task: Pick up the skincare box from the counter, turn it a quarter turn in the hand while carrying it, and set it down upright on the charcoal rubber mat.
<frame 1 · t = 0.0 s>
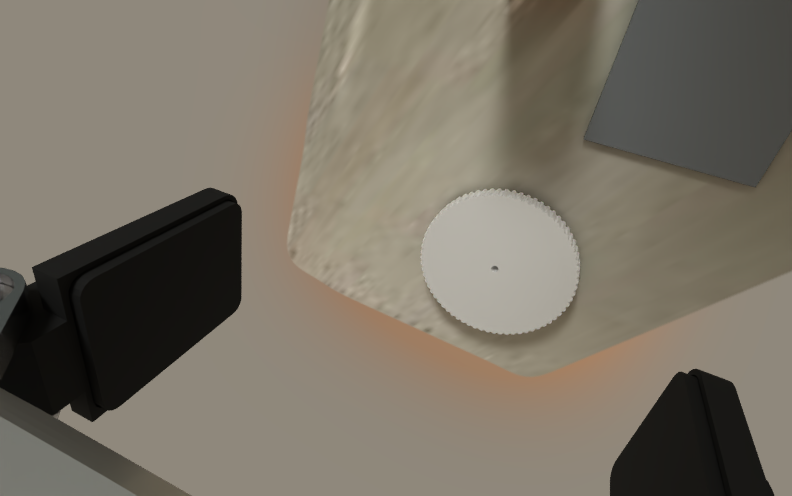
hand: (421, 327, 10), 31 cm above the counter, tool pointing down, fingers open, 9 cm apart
mat: (723, 45, 30), on the counter
plastic lid: (500, 255, 44), on the counter
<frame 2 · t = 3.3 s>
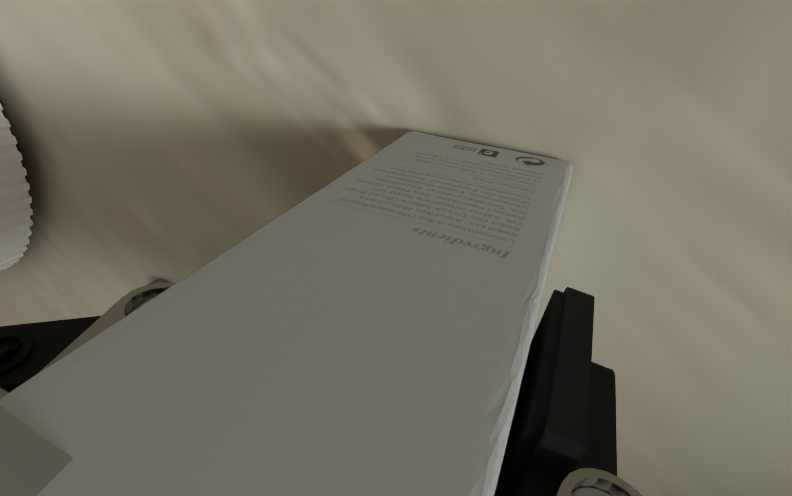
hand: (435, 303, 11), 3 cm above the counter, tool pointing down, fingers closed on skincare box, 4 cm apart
skincare box: (469, 245, 13), on the counter, touching gripper
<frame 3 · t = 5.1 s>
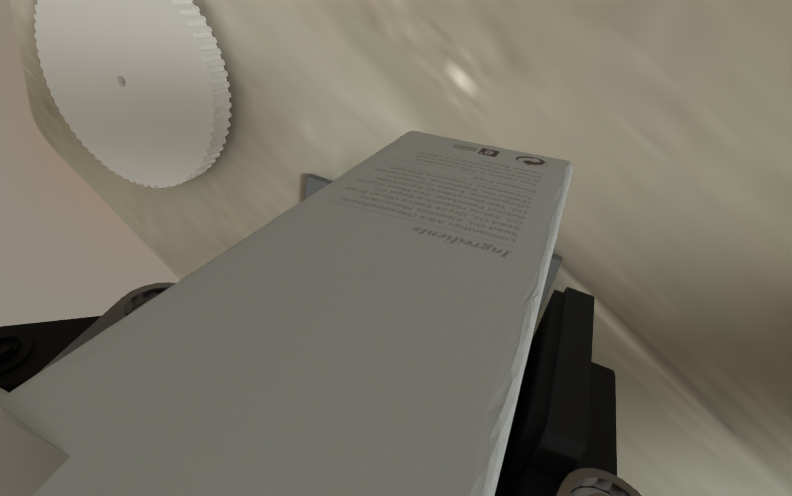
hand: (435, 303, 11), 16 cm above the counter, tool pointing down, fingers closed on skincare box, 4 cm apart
skincare box: (469, 245, 13), point 13 cm above the counter, touching gripper
mat: (409, 292, 31), on the counter
plastic lid: (155, 75, 31), on the counter
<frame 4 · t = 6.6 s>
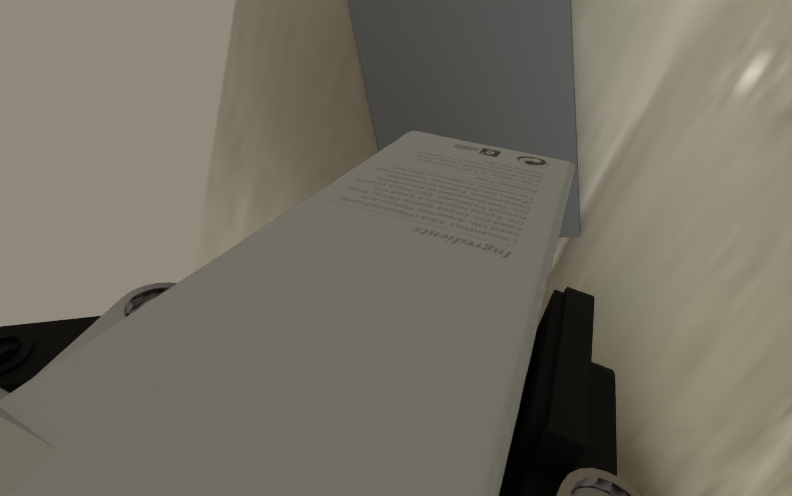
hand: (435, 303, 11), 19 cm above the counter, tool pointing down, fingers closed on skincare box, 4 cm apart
skincare box: (470, 245, 13), point 16 cm above the counter, touching gripper
mat: (466, 112, 28), on the counter
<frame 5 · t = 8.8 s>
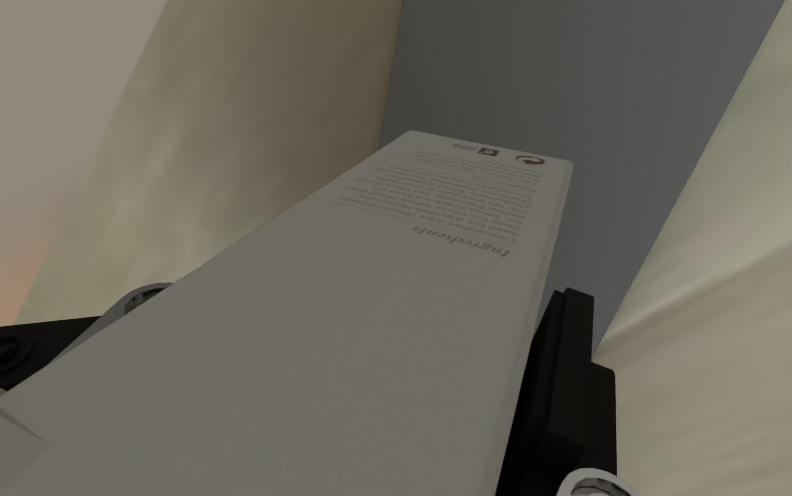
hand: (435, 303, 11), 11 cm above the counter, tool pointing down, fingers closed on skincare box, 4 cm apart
skincare box: (469, 244, 13), point 8 cm above the counter, touching gripper
mat: (514, 170, 20), on the counter
when the fingers open (5 cm above the counter, at t = 10.3 s): skincare box drops 1 cm, resting on mat.
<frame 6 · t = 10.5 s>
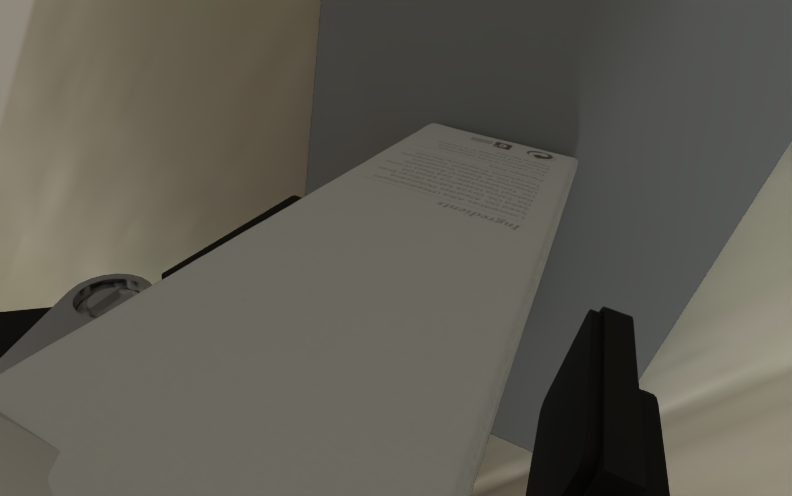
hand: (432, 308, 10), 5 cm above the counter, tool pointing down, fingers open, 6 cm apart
skincare box: (478, 231, 14), resting on mat
mat: (482, 221, 14), on the counter
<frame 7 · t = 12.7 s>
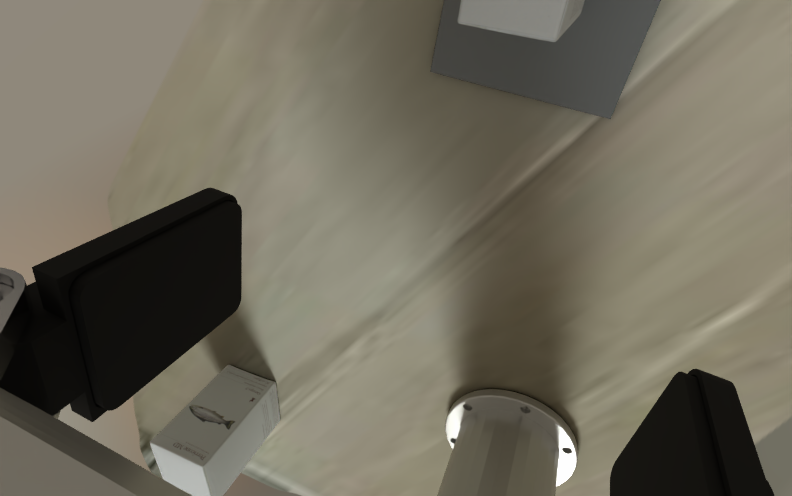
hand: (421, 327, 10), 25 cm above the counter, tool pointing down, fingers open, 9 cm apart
supplement box: (255, 390, 60), on the counter
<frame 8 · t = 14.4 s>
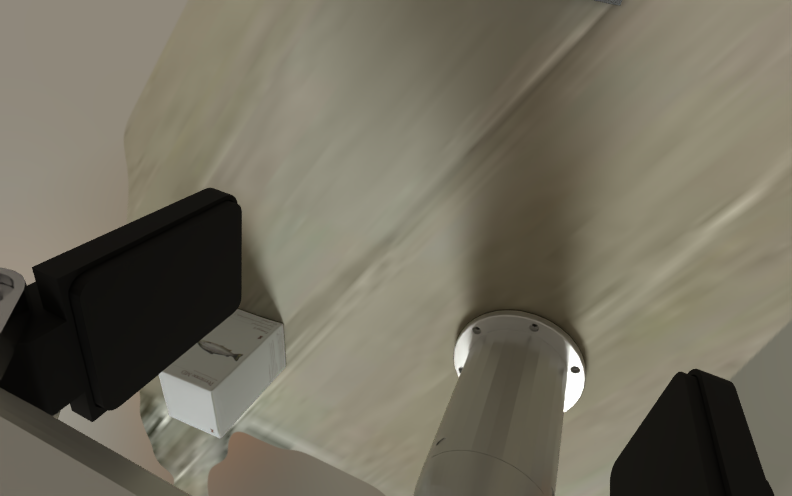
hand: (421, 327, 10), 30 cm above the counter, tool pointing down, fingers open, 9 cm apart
supplement box: (262, 335, 60), on the counter
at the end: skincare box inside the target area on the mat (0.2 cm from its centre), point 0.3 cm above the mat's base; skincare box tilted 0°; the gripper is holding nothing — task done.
